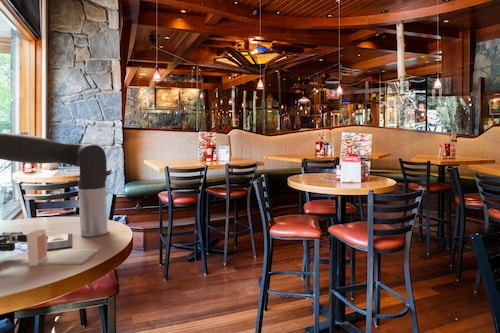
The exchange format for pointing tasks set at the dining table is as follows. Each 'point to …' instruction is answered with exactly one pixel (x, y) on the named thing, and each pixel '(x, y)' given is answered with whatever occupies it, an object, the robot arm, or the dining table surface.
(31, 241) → the deck box
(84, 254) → the mat
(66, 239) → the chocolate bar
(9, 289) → the dining table surface
